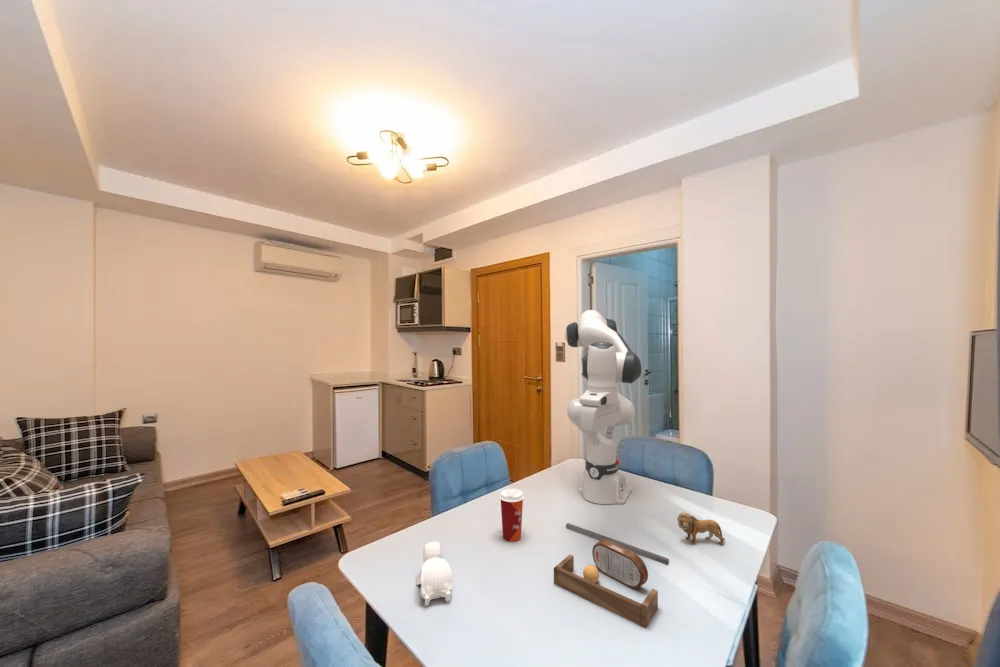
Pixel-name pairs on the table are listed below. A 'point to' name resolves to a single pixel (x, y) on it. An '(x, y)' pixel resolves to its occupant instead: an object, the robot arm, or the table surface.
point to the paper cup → (511, 514)
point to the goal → (605, 594)
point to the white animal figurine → (434, 574)
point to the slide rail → (627, 546)
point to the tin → (620, 563)
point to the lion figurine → (699, 527)
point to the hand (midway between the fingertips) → (602, 441)
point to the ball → (591, 573)
